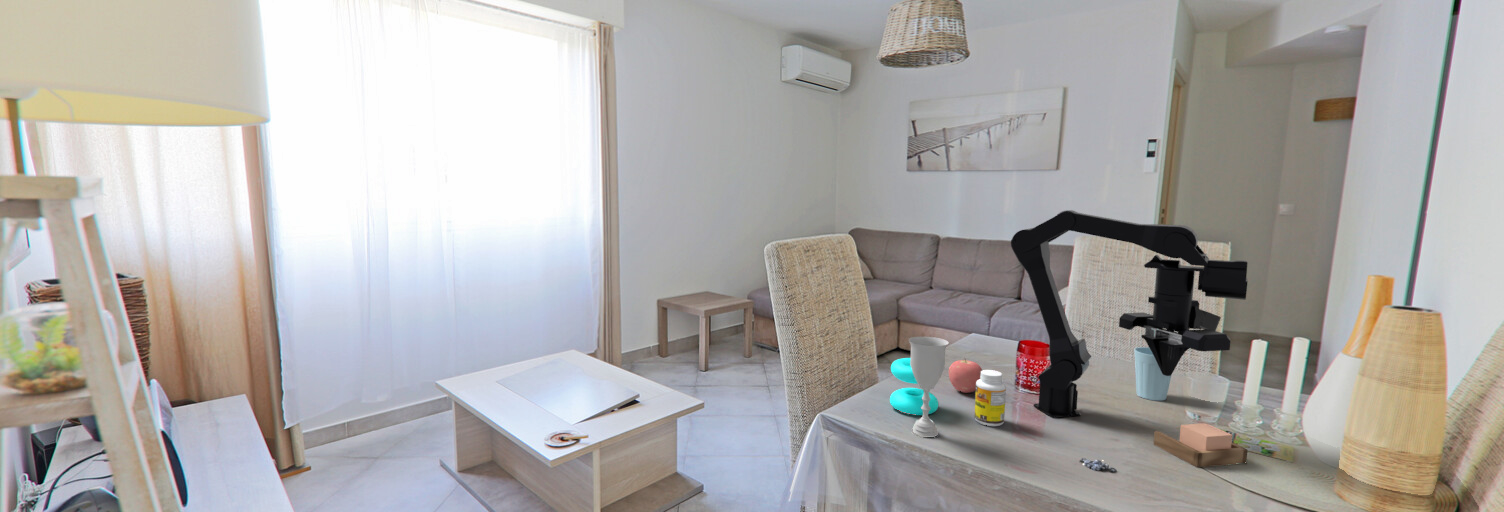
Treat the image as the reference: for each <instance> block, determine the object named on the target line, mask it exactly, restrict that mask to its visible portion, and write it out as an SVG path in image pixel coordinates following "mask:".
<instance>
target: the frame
mask: <svg viewBox="0 0 1504 512" xmlns="http://www.w3.org/2000/svg"><path fill="white" fill-rule="evenodd" d="M1153 445H1154V446H1156V447H1158V448H1159V449H1161V450H1164V451H1166V453H1168V454H1171V455H1173V456H1175V457H1177V458H1178V459H1181V460H1182V461H1184V462H1186V463H1188V464H1190V465H1192V467H1193V466H1194V467H1196V468H1205V467H1206V468H1207V467H1217V466H1218V467H1219V466H1229V465H1228V464H1233V465H1237V464H1236V463H1245V462H1246V463H1247V461H1248V451H1249V449H1248V448H1246V447H1243V446H1241V445H1239V444H1236V443H1235V442H1232V444H1231V448H1229V449H1215V450H1201V451H1198V450H1196V449H1194V448H1192V447H1190V446H1188V445H1186V444H1184V443H1182V442H1179V440H1177V439H1176V438H1174V437H1171V436H1169V435H1168V434H1165V433H1163V432H1161V431H1159V430H1158V431H1156V430H1155V431H1154V435H1153Z"/></svg>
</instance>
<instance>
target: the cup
mask: <svg viewBox="0 0 1504 512" xmlns="http://www.w3.org/2000/svg"><path fill="white" fill-rule="evenodd" d="M1133 351H1134V366H1135V367H1134V370H1135V390H1136V395H1137V396H1138V397H1140V398H1142V399H1145V400H1149V401H1155V402H1156V401H1162V402H1163V401H1165V400H1167V397H1168V392H1169V389H1170V384H1171V379H1172V375H1171V376H1165V375H1163V374H1162V372H1161V370H1160V368H1159V366H1158V364H1157V361H1156V359H1155V357H1154V355H1153V353H1152V351H1151V350H1150V348H1149V346H1148V347H1147V346H1140V347H1135V348H1134V350H1133Z"/></svg>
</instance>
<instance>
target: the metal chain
mask: <svg viewBox="0 0 1504 512" xmlns="http://www.w3.org/2000/svg"><path fill="white" fill-rule="evenodd" d="M1079 463H1081V464H1082V466H1084V467H1086V468H1087V469H1088V470H1092V471H1094V472H1102V473H1105V472H1106V473H1109V474H1114V473H1117V469H1116V468H1115V467H1112V466H1111V467H1110V466H1109V464H1110V463H1109V462H1108V463H1107V462H1104V459H1102V460H1100V459H1094V460H1090V459H1088V458H1085V457H1081V459H1080V460H1079Z"/></svg>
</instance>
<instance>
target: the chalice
mask: <svg viewBox="0 0 1504 512" xmlns="http://www.w3.org/2000/svg"><path fill="white" fill-rule="evenodd" d="M908 342H909V344H910V358H911V360H910V365H911V368H912V371H913V374H914V377H915V379H916V381H917V383H918V384H917V385H918V387H919V388H920V389H923V390H924V394H923V397H922V400H923V406H922V407H921V409H922V410H923V415H921V416H922V417H920V418H918V419H917V420H915V422H914V425H913V427H912V429H913V432H914V433H916V434H918V435H920V436H935V435H937V434H938V433H939V431H938V428H937V427H936V423H935V421H933V420H932V419H931V418H930V417H929V414H928V413H929V410H930V409H931V408H930V407H929V401H930V400H931V399H930V397H929V392H930V390H932V389H935V387H936V386H937V384H938V382H939V381H940V379H941V377H942V375H943V373H944V370H945V366H946V349H947V346H948V345H949V341H948V340H946V339H943V338H939V337H934V336H913V337H909V338H908Z"/></svg>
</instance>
